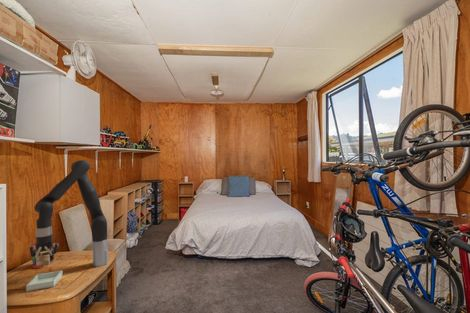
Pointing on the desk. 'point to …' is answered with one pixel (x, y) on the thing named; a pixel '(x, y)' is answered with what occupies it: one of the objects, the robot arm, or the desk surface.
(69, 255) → the desk surface
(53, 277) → the green crate
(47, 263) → the oak crate
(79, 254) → the desk surface
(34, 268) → the stacking bear
